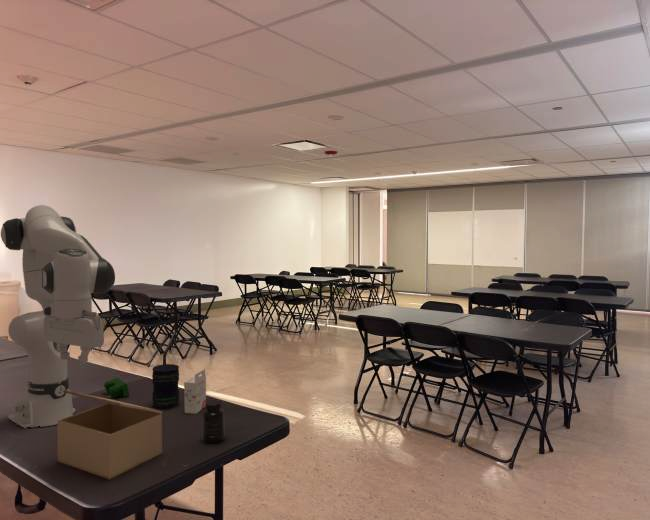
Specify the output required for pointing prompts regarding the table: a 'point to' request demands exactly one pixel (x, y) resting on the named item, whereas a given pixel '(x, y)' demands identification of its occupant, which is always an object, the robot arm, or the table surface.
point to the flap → (112, 401)
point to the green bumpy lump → (116, 388)
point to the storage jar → (165, 386)
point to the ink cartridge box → (195, 393)
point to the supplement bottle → (213, 422)
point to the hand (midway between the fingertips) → (73, 360)
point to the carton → (109, 439)
